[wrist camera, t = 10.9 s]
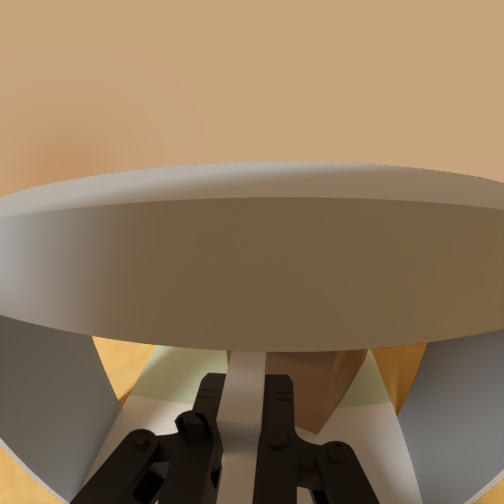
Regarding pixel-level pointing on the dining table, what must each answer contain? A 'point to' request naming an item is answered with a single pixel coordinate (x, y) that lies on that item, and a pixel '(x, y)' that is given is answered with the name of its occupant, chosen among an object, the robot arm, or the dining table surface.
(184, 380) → the pad
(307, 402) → the walnut block
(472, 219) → the tunnel
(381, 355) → the dining table surface
